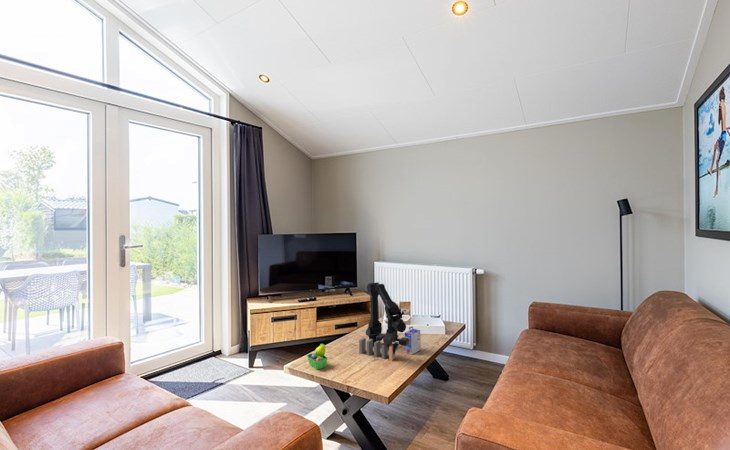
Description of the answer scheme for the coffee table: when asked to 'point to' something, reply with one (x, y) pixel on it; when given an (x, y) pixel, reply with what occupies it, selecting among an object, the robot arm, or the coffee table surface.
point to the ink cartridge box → (413, 341)
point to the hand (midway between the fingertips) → (392, 354)
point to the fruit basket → (318, 357)
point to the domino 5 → (391, 352)
